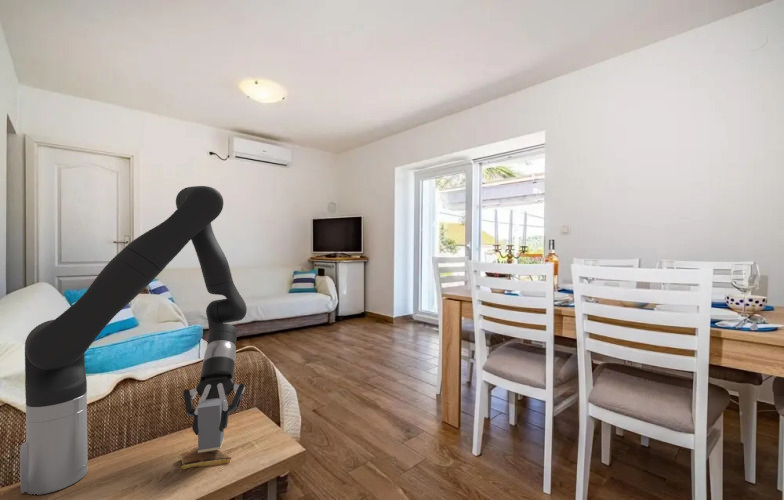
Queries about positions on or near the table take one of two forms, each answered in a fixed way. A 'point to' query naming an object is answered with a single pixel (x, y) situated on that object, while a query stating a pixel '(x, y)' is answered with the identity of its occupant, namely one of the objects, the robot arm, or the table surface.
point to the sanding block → (210, 425)
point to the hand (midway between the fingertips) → (209, 431)
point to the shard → (202, 458)
